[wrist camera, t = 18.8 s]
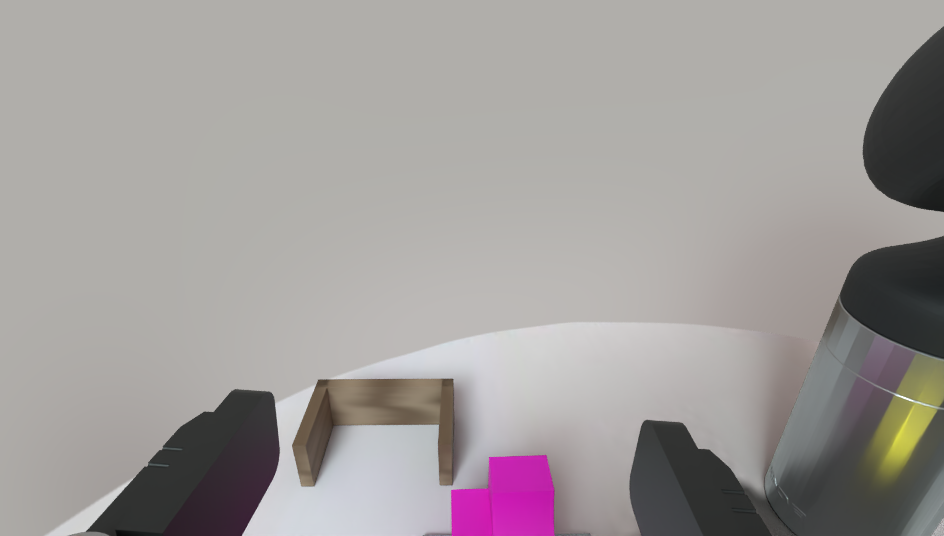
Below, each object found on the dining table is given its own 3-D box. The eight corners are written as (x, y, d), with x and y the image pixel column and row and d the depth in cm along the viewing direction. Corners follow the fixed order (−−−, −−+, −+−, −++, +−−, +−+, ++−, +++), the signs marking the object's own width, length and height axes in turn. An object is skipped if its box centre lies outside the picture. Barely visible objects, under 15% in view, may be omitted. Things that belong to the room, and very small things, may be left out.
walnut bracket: (453, 416, 46) (453, 378, 44) (452, 484, 39) (451, 444, 37) (325, 417, 46) (318, 379, 43) (301, 486, 39) (291, 445, 37)
